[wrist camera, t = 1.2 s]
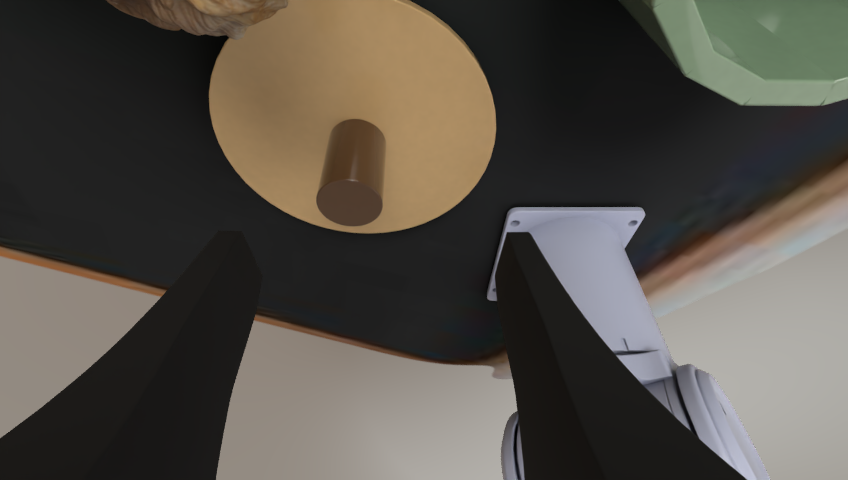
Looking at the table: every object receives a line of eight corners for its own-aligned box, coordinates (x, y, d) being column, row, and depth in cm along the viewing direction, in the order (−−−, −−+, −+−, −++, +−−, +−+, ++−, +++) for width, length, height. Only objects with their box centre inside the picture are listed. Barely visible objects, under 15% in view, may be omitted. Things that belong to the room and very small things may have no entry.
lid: (476, 219, 24) (486, 291, 21) (262, 220, 24) (238, 293, 21) (517, -20, 15) (549, 44, 11) (162, -26, 14) (88, 38, 11)
